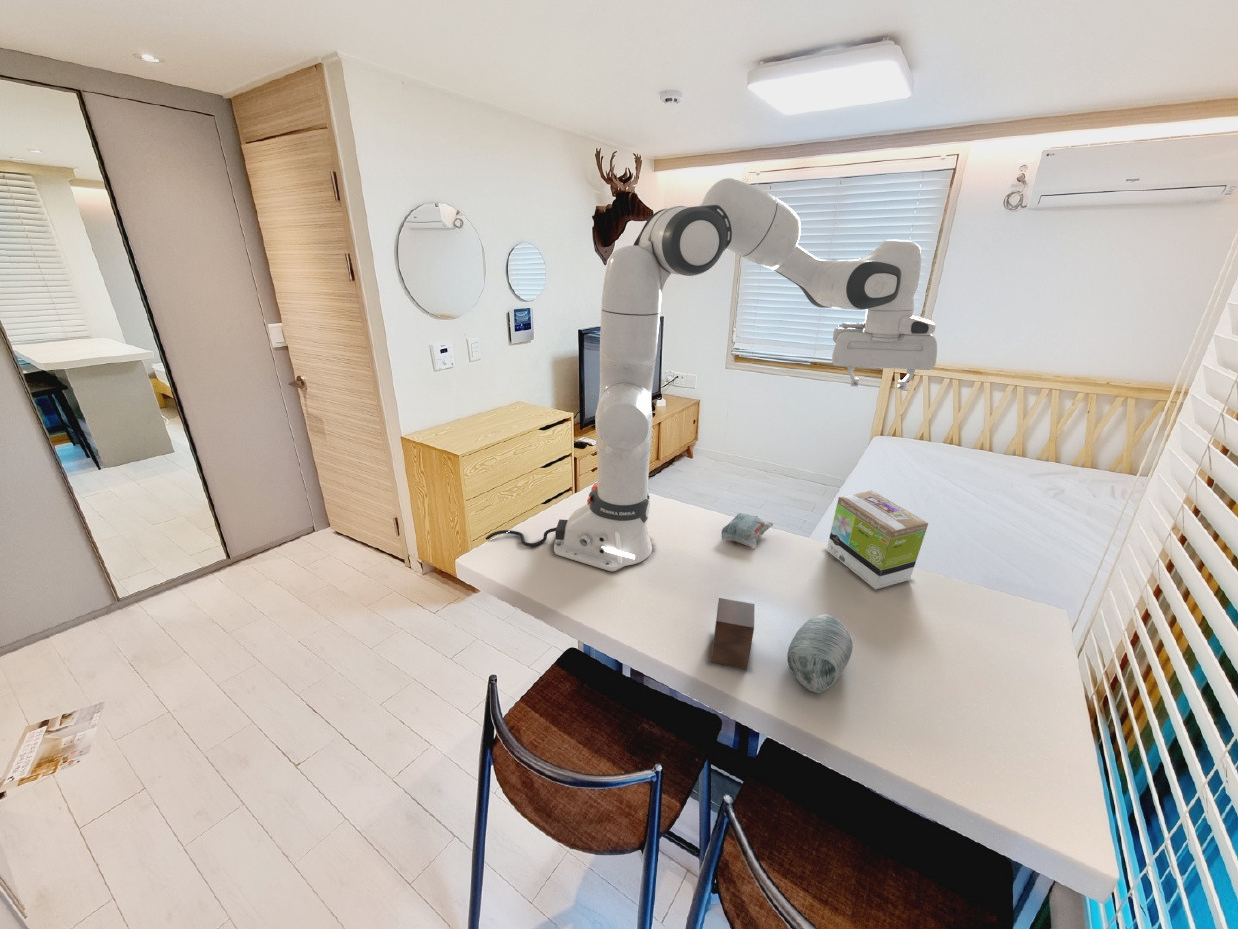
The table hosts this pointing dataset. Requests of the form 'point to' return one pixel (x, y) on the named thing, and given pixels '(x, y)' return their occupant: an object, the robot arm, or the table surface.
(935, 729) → the table surface
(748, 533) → the packaged food
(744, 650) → the walnut block
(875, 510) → the tea box
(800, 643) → the spool
